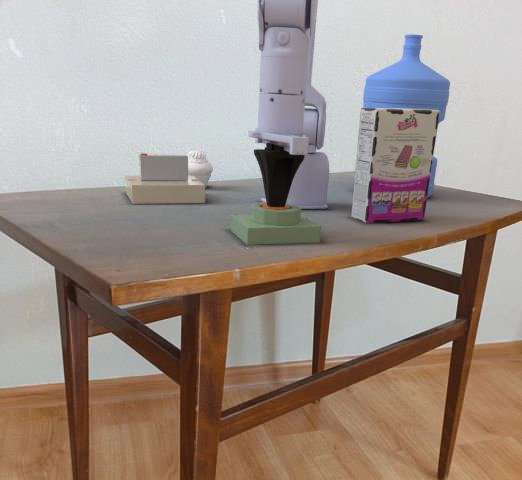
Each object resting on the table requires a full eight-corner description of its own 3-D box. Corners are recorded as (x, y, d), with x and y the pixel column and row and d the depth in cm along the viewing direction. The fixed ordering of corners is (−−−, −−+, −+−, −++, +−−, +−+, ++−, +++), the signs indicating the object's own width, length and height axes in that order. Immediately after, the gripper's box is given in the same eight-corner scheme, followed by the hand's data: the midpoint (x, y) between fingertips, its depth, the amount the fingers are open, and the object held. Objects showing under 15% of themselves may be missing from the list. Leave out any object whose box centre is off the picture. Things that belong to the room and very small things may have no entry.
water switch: (298, 229, 84) (300, 200, 83) (319, 242, 78) (322, 212, 76) (230, 230, 82) (231, 201, 80) (247, 245, 75) (248, 213, 73)
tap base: (192, 191, 109) (192, 174, 107) (207, 204, 98) (207, 184, 97) (124, 192, 105) (123, 173, 104) (132, 205, 94) (131, 185, 93)
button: (283, 216, 81) (284, 203, 80) (292, 221, 78) (293, 208, 77) (258, 216, 80) (258, 203, 79) (266, 222, 77) (267, 208, 76)
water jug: (337, 191, 117) (353, 31, 105) (378, 184, 128) (396, 39, 116) (408, 203, 108) (434, 30, 96) (445, 195, 119) (472, 38, 107)
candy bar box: (405, 214, 98) (421, 108, 91) (424, 221, 94) (442, 110, 87) (347, 217, 94) (359, 106, 87) (365, 224, 90) (378, 107, 83)
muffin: (174, 187, 112) (173, 148, 109) (191, 183, 117) (191, 146, 114) (202, 191, 110) (202, 151, 107) (218, 187, 115) (219, 149, 112)
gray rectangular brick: (186, 179, 102) (186, 153, 100) (188, 180, 101) (188, 154, 99) (139, 179, 100) (138, 152, 98) (141, 180, 98) (140, 153, 97)
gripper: (234, 91, 77) (232, 196, 83) (270, 94, 65) (264, 218, 70) (285, 93, 80) (279, 196, 85) (329, 97, 67) (318, 217, 73)
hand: (275, 206), depth 78 cm, fingers closed, pressing on button
